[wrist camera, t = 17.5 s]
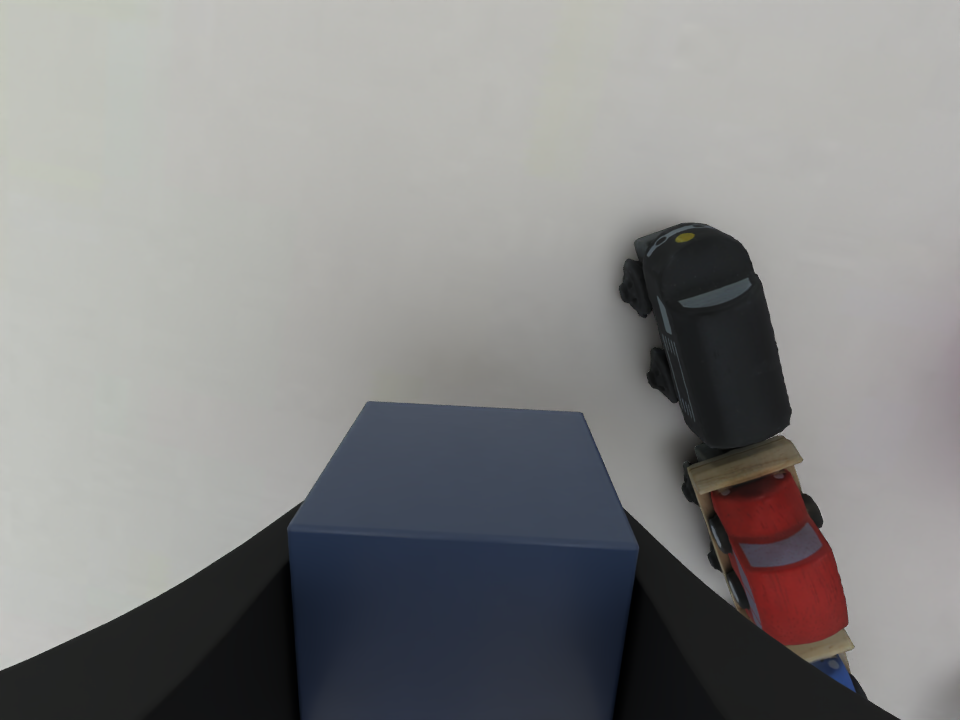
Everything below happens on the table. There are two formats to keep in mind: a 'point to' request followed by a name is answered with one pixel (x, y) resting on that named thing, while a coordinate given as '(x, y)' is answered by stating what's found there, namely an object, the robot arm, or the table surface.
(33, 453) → the table surface
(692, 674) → the robot arm
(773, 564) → the toy train
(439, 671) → the block
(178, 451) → the table surface
